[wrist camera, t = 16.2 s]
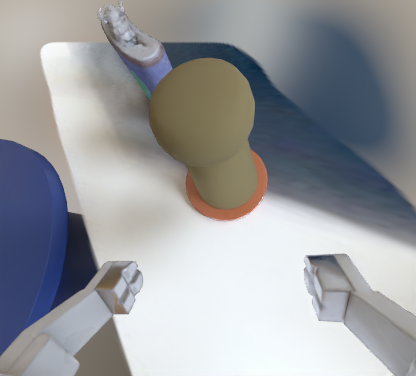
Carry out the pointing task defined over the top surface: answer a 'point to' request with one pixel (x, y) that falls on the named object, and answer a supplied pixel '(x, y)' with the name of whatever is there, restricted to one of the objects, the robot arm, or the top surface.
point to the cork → (208, 128)
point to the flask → (135, 48)
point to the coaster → (235, 212)
